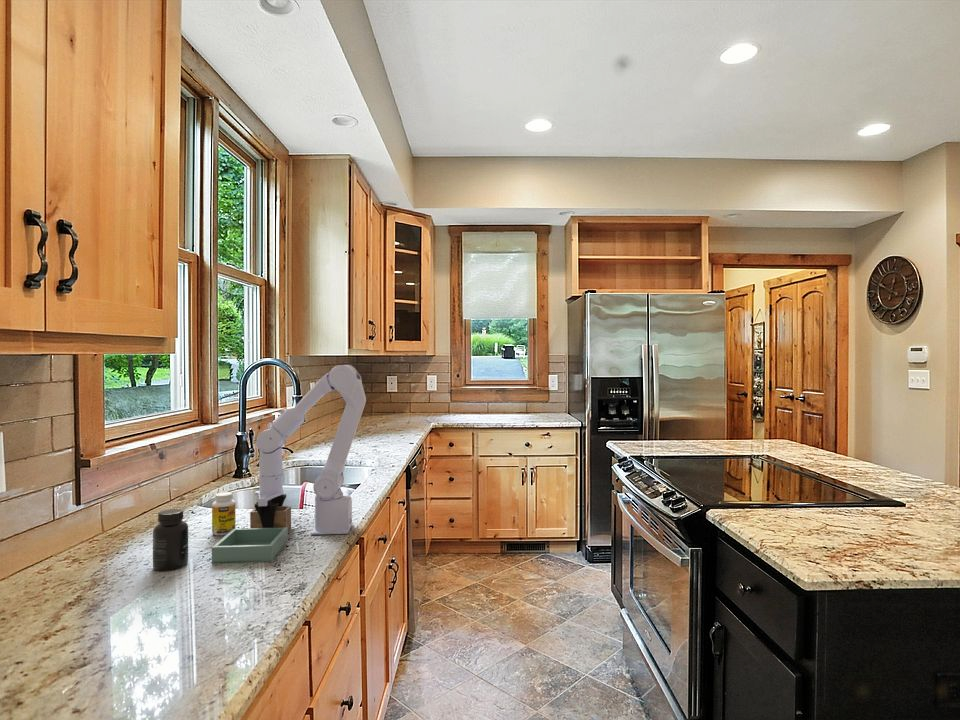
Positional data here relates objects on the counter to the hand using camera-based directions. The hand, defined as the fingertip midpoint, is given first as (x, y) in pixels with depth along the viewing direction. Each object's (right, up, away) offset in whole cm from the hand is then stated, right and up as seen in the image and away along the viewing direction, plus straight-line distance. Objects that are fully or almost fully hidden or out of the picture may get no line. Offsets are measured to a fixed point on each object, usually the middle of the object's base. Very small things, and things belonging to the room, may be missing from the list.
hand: (271, 526), depth 142 cm
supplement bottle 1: (-13, -2, -23) cm, 27 cm away
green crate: (+1, -2, -15) cm, 15 cm away
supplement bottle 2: (-12, -2, -1) cm, 12 cm away
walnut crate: (0, -1, 0) cm, 1 cm away
